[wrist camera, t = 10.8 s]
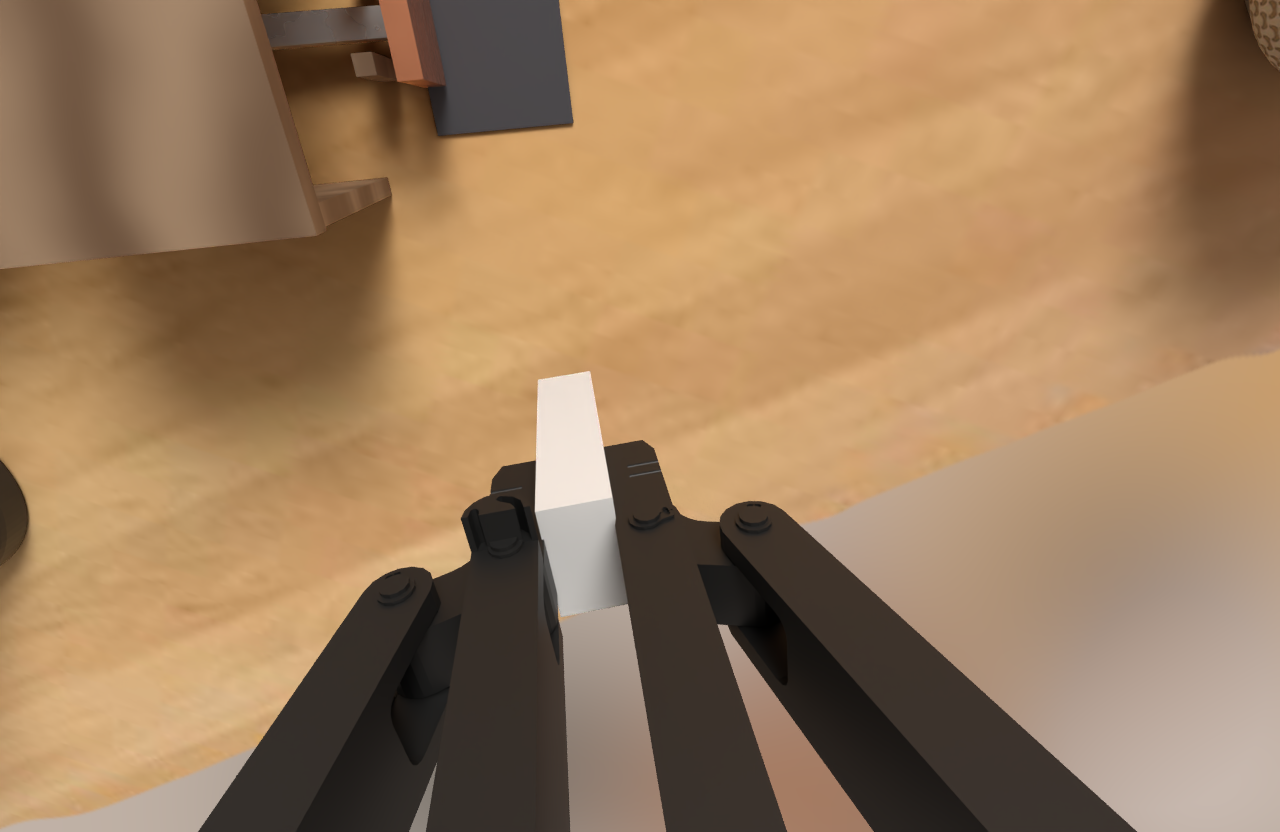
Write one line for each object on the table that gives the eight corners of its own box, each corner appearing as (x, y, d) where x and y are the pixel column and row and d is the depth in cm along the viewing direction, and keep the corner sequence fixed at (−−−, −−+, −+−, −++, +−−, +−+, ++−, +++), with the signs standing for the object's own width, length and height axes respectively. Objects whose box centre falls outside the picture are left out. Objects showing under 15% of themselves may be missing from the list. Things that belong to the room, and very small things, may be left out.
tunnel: (177, 216, 36) (-35, 272, 23) (25, -158, 29) (-418, -388, 16) (425, 191, 37) (355, 231, 24) (341, -176, 30) (174, -405, 17)
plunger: (60, 151, 34) (-49, 158, 28) (-35, -50, 30) (-185, -93, 24) (452, 115, 35) (431, 114, 29) (413, -80, 31) (379, -128, 25)
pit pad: (438, 135, 36) (438, 135, 36) (389, -100, 31) (388, -101, 31) (573, 122, 37) (573, 122, 37) (545, -110, 32) (545, -112, 32)
